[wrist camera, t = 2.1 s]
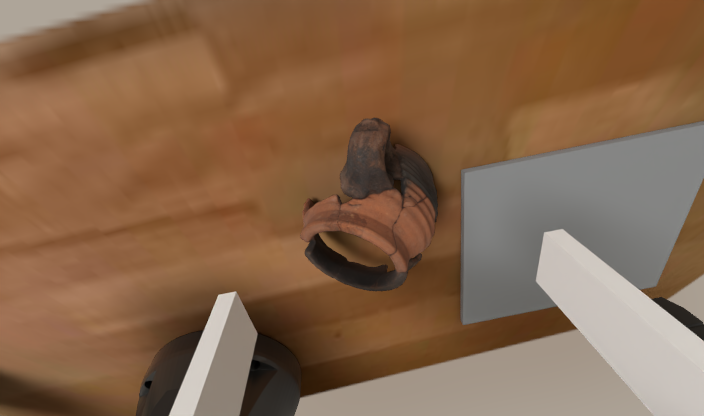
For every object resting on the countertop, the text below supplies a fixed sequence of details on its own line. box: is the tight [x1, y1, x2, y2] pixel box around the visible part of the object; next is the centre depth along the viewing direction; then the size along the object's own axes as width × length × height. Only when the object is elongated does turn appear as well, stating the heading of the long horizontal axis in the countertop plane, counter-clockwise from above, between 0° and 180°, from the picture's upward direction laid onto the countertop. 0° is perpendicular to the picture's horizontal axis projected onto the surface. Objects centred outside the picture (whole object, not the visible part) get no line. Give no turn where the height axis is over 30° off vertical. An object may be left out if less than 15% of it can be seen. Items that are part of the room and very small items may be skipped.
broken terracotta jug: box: [300, 118, 438, 291], centre depth 21 cm, size 12×10×8 cm
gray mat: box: [461, 121, 704, 325], centre depth 27 cm, size 20×17×1 cm
